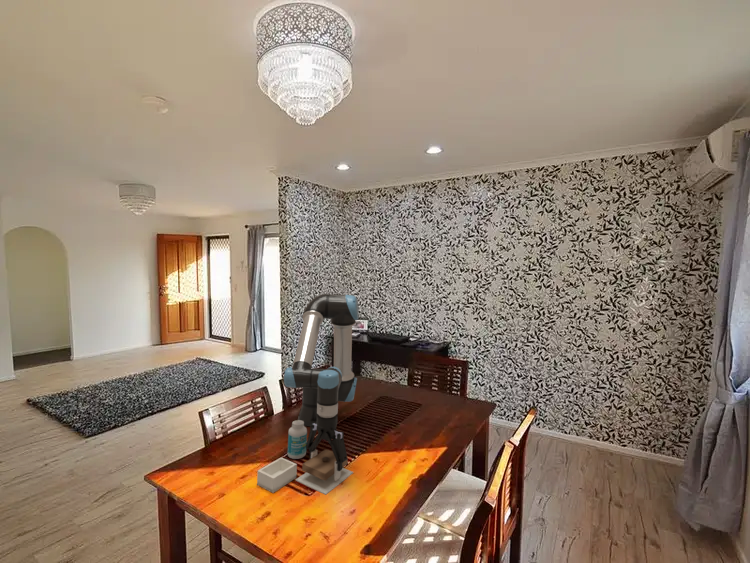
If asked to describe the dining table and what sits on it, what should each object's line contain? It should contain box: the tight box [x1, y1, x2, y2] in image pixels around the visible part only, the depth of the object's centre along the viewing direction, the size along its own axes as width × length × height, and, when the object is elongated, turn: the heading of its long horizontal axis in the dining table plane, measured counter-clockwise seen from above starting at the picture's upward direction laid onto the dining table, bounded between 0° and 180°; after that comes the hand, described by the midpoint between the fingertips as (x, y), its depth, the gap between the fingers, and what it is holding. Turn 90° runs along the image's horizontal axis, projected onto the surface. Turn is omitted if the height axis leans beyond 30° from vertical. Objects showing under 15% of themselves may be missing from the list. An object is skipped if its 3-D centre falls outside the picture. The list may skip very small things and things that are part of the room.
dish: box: [256, 456, 298, 494], centre depth 128 cm, size 8×11×5 cm
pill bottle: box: [287, 419, 308, 460], centre depth 146 cm, size 8×7×14 cm
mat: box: [295, 467, 354, 495], centre depth 132 cm, size 14×16×1 cm
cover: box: [301, 448, 349, 481], centre depth 132 cm, size 10×13×3 cm
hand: (325, 473), depth 132 cm, fingers closed on cover, 10 cm apart
